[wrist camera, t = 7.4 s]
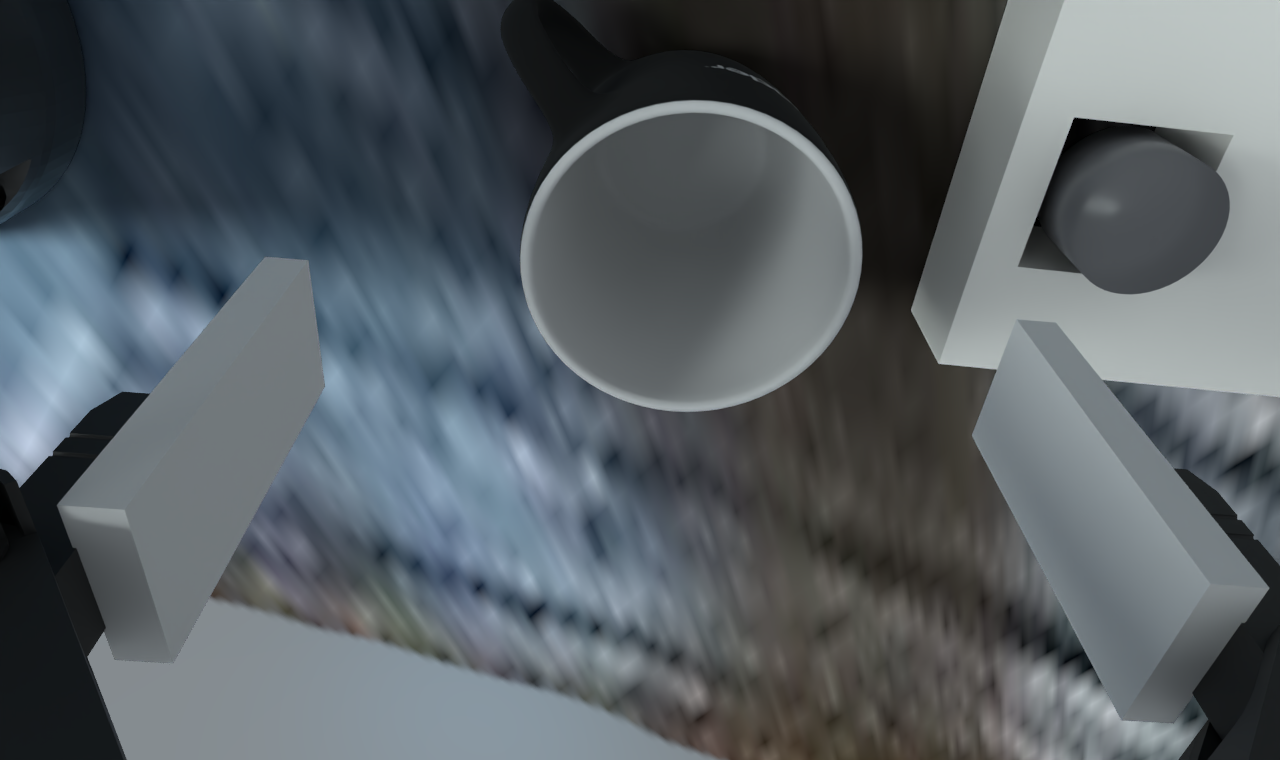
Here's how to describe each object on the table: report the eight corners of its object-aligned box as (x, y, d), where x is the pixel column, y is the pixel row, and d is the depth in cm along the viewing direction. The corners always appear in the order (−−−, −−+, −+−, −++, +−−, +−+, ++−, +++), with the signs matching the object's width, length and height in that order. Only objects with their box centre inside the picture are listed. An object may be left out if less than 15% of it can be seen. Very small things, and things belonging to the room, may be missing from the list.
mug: (856, 164, 31) (931, 294, 23) (663, 305, 34) (666, 465, 26) (641, -132, 26) (634, -108, 18) (440, 65, 29) (352, 165, 21)
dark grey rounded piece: (1019, 247, 29) (1052, 286, 27) (1066, 118, 27) (1108, 149, 25) (1143, 260, 30) (1188, 301, 27) (1202, 133, 27) (1257, 165, 25)
